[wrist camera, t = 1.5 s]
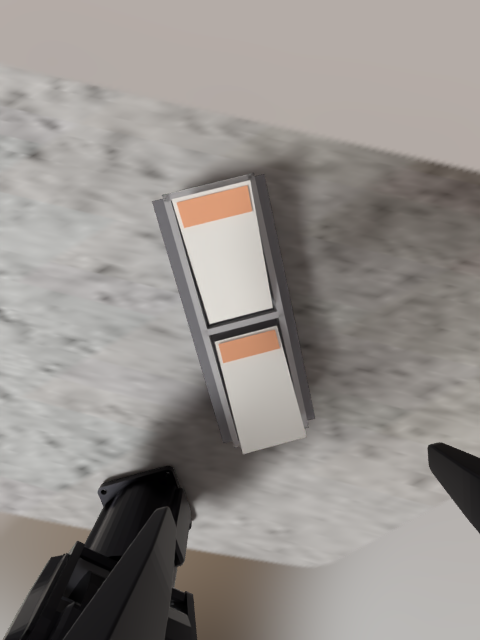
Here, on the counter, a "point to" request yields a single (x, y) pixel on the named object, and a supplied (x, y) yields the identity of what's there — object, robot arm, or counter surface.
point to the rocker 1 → (225, 250)
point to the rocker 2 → (260, 389)
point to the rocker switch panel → (217, 331)
